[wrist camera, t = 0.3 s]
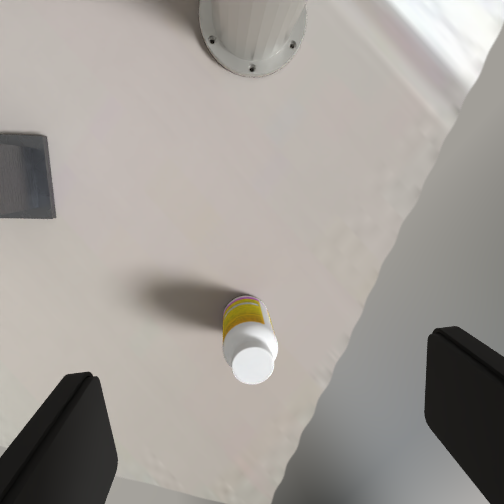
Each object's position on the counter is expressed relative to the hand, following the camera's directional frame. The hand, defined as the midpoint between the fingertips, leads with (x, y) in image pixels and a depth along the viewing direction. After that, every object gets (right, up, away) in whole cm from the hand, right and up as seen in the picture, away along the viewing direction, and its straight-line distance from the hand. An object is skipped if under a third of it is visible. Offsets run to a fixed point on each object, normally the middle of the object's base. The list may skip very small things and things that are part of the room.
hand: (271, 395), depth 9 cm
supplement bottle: (-1, -5, +39) cm, 39 cm away
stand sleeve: (-31, +13, +32) cm, 46 cm away
